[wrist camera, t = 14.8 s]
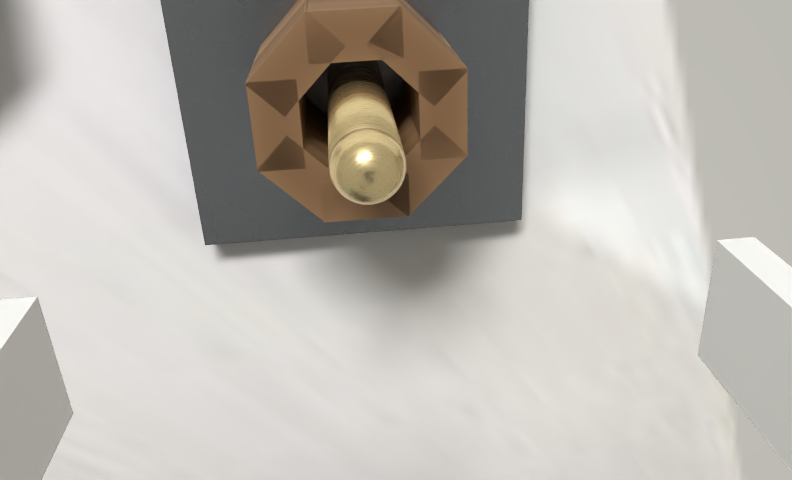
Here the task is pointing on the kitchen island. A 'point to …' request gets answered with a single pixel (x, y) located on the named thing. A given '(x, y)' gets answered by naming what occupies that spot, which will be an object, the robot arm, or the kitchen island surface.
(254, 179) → the stand
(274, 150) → the bead
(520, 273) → the kitchen island surface
